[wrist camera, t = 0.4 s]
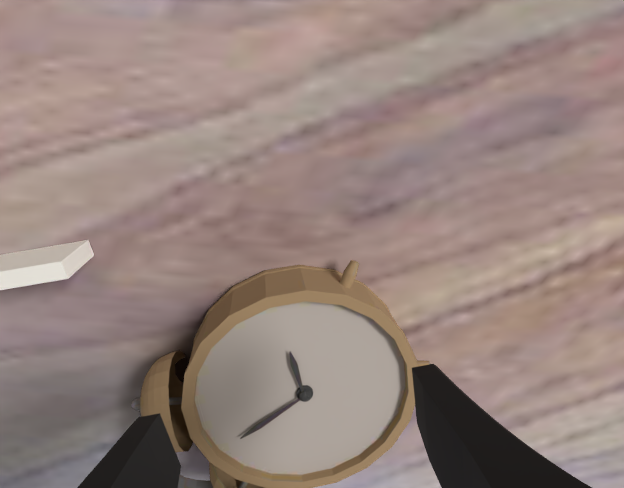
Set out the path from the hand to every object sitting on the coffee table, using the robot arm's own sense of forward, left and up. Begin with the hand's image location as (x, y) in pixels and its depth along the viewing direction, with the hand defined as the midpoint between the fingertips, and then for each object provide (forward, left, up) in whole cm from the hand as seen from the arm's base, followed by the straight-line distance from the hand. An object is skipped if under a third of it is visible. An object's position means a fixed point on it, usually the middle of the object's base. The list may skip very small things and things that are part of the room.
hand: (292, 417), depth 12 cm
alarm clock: (-6, +2, -10) cm, 12 cm away
